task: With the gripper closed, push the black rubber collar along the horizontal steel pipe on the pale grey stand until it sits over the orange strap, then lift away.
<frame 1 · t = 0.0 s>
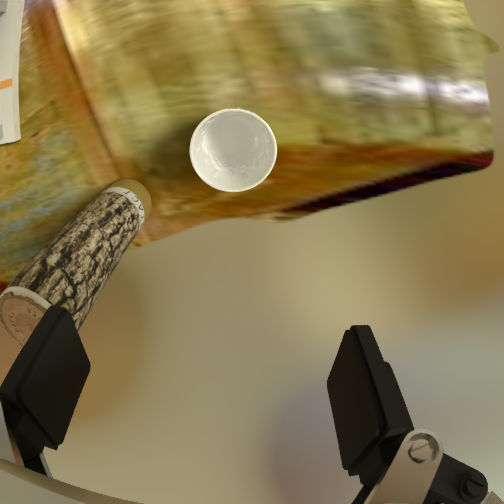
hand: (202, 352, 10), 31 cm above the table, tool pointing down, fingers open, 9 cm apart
white cup: (236, 134, 36), on the table
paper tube: (130, 200, 40), on the table
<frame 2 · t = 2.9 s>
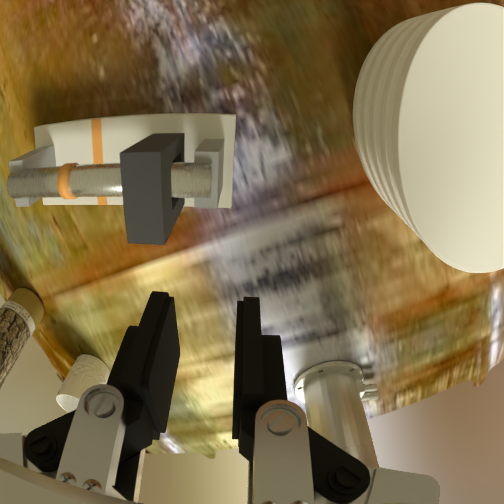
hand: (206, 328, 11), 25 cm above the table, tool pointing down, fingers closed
pipe: (97, 180, 25), point 8 cm above the table
pipe stand: (127, 158, 32), on the table
collar: (157, 182, 25), point 9 cm above the table, slide at 0.0 cm
plate stack: (453, 124, 30), on the table
white cup: (93, 365, 50), on the table
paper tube: (30, 301, 43), on the table
orange strap: (81, 173, 27), point 6 cm above the table
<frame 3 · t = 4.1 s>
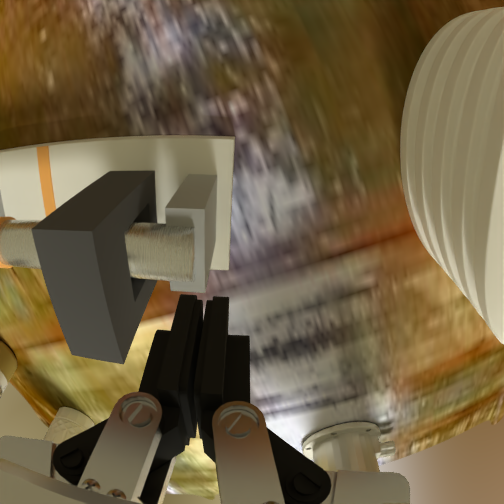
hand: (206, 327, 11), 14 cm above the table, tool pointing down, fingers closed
pipe: (34, 244, 16), point 7 cm above the table
pipe stand: (87, 199, 23), on the table
collar: (111, 255, 16), point 9 cm above the table, slide at 0.0 cm
white cup: (77, 416, 41), on the table
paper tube: (2, 350, 34), on the table
orange strap: (22, 226, 18), point 6 cm above the table
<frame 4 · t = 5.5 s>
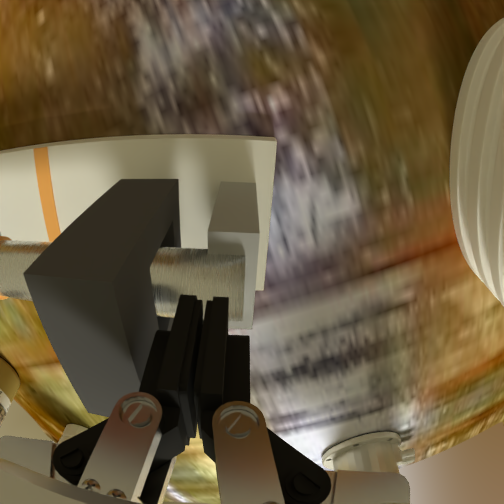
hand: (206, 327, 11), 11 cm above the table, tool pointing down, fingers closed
pipe: (35, 271, 13), point 8 cm above the table
pipe stand: (94, 208, 20), on the table
collar: (129, 290, 13), point 9 cm above the table, slide at 0.3 cm, touching gripper
white cup: (85, 433, 38), on the table
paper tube: (3, 367, 31), on the table
orange strap: (19, 246, 15), point 6 cm above the table
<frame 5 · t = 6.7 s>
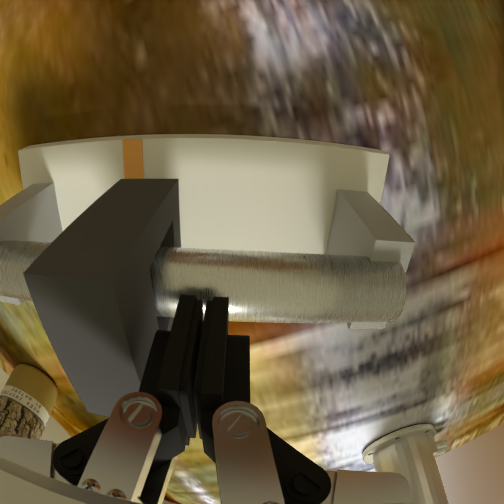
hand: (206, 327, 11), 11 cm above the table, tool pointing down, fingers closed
pipe: (158, 281, 13), point 7 cm above the table
pipe stand: (188, 210, 20), on the table
collar: (129, 289, 13), point 9 cm above the table, slide at 7.1 cm, touching gripper
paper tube: (38, 377, 31), on the table
orange strap: (114, 250, 15), point 6 cm above the table
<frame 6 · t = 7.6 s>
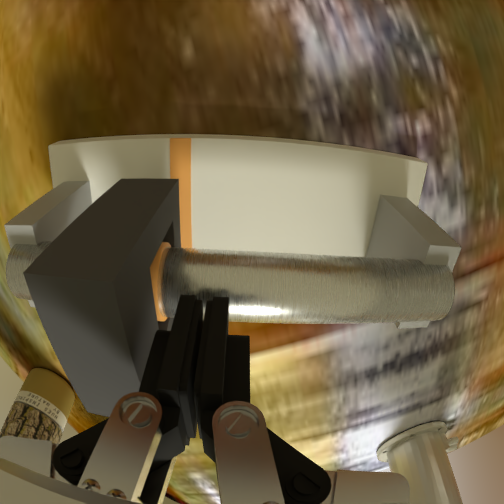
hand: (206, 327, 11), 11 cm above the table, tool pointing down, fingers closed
pipe: (223, 285, 13), point 7 cm above the table
pipe stand: (232, 212, 20), on the table
collar: (129, 289, 13), point 9 cm above the table, slide at 10.0 cm, touching gripper
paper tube: (53, 381, 31), on the table
orange strap: (166, 253, 15), point 6 cm above the table
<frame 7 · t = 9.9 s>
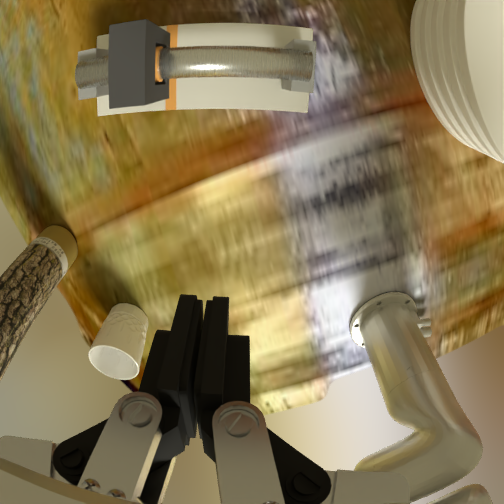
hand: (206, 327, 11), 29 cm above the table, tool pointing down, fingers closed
pipe: (188, 62, 23), point 8 cm above the table
pipe stand: (200, 66, 30), on the table
collar: (142, 65, 22), point 9 cm above the table, slide at 10.0 cm
plate stack: (486, 61, 28), on the table
white cup: (129, 317, 49), on the table
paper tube: (61, 242, 41), on the table
orange strap: (162, 65, 25), point 6 cm above the table
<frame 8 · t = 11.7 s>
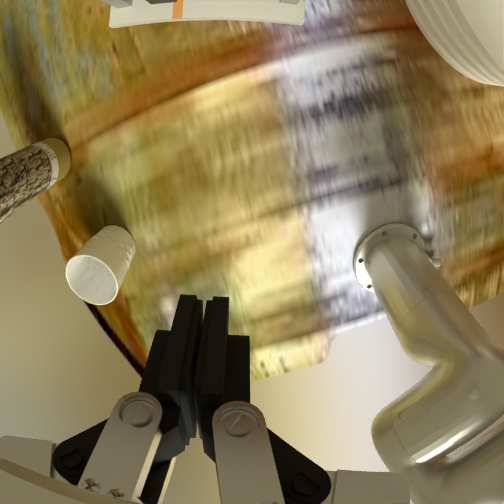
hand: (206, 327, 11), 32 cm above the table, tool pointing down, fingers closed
plate stack: (473, 2, 26), on the table
white cup: (116, 243, 46), on the table
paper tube: (55, 158, 38), on the table
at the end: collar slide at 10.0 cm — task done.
